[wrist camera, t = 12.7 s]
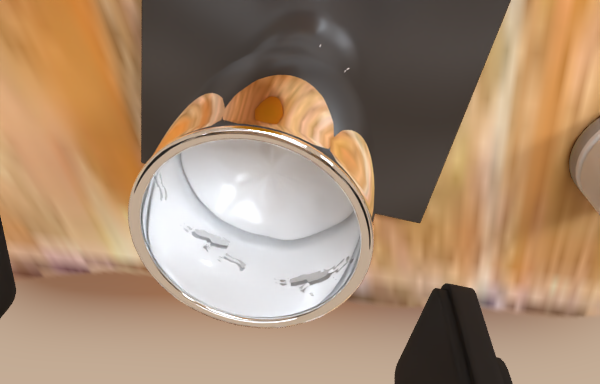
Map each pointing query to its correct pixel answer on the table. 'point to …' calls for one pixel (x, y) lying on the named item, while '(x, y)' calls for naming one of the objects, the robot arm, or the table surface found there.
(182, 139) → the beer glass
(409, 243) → the table surface
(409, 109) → the serving board
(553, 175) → the table surface
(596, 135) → the travel mug
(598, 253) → the table surface
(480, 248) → the table surface
